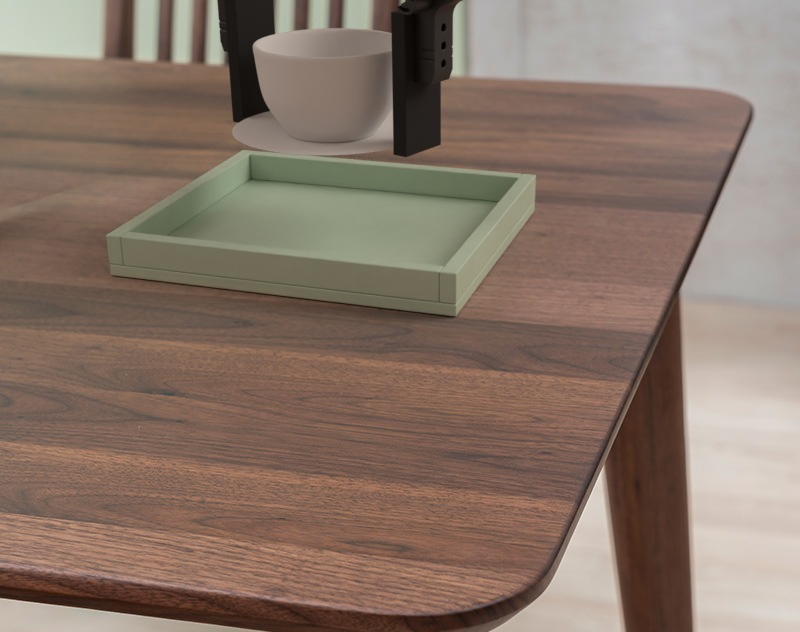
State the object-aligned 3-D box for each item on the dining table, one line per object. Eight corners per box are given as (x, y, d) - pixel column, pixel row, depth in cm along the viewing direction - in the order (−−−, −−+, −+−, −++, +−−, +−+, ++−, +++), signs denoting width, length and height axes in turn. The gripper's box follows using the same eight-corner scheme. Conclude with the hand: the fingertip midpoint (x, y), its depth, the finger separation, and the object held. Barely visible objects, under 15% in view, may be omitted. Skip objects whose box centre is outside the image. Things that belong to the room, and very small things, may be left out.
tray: (110, 275, 61) (105, 234, 61) (244, 184, 75) (242, 149, 74) (455, 317, 56) (456, 273, 55) (534, 211, 70) (536, 174, 69)
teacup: (423, 167, 58) (422, 64, 56) (211, 163, 59) (203, 62, 57) (439, 114, 67) (439, 23, 65) (255, 111, 68) (249, 22, 66)
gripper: (591, -407, 49) (566, 152, 59) (193, -366, 62) (228, 89, 72) (480, -426, 44) (473, 190, 54) (70, -377, 57) (126, 115, 67)
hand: (333, 132), depth 63 cm, fingers closed on teacup, 10 cm apart
